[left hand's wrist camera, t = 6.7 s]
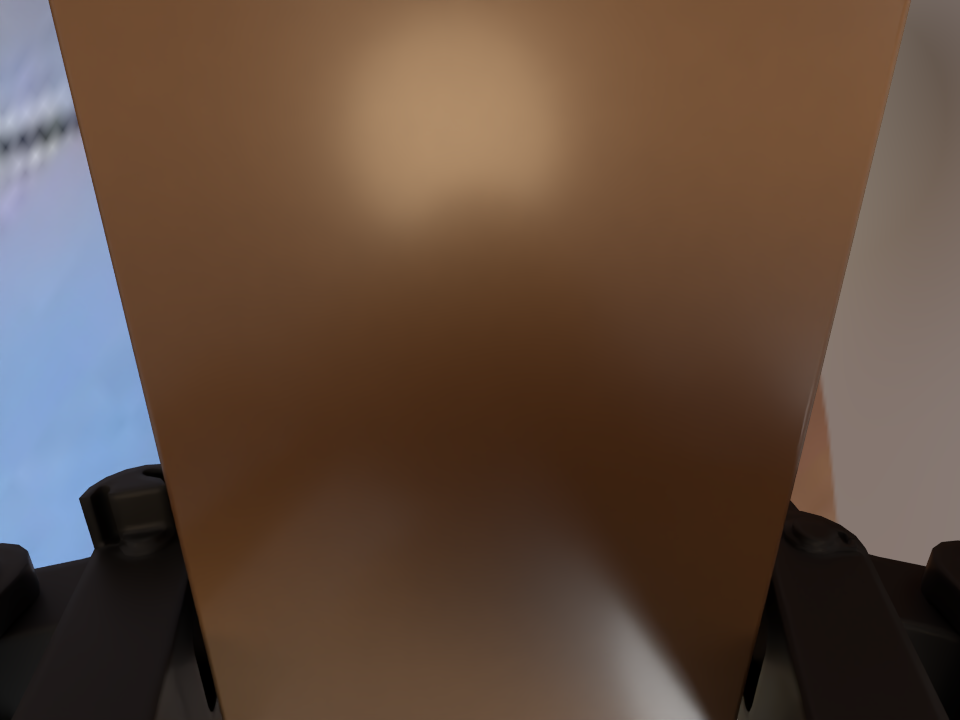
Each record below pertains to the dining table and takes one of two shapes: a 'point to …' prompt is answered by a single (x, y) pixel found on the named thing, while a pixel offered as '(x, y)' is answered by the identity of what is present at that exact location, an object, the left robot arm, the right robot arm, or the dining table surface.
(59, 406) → the dining table surface
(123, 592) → the left robot arm
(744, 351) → the bar
